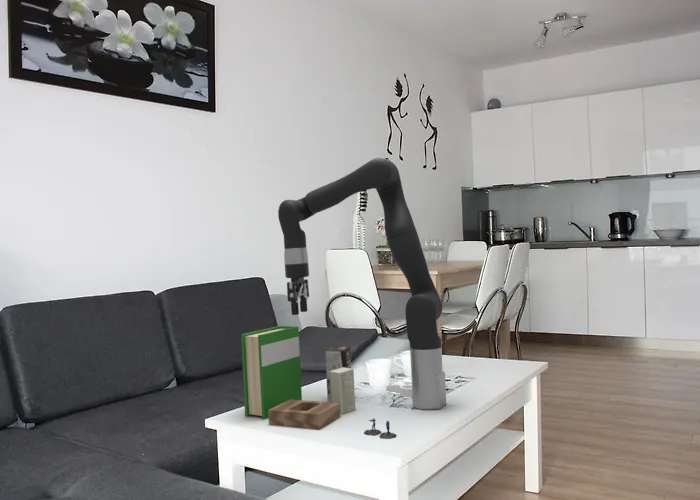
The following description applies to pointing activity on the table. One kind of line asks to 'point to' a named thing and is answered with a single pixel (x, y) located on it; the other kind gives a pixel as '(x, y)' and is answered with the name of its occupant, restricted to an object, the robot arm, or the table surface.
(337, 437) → the table surface
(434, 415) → the table surface
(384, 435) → the figurines
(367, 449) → the table surface
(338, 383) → the skincare box
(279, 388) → the hardback book
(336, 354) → the coffee box
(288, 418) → the walnut holder block
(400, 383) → the white brass knuckles
